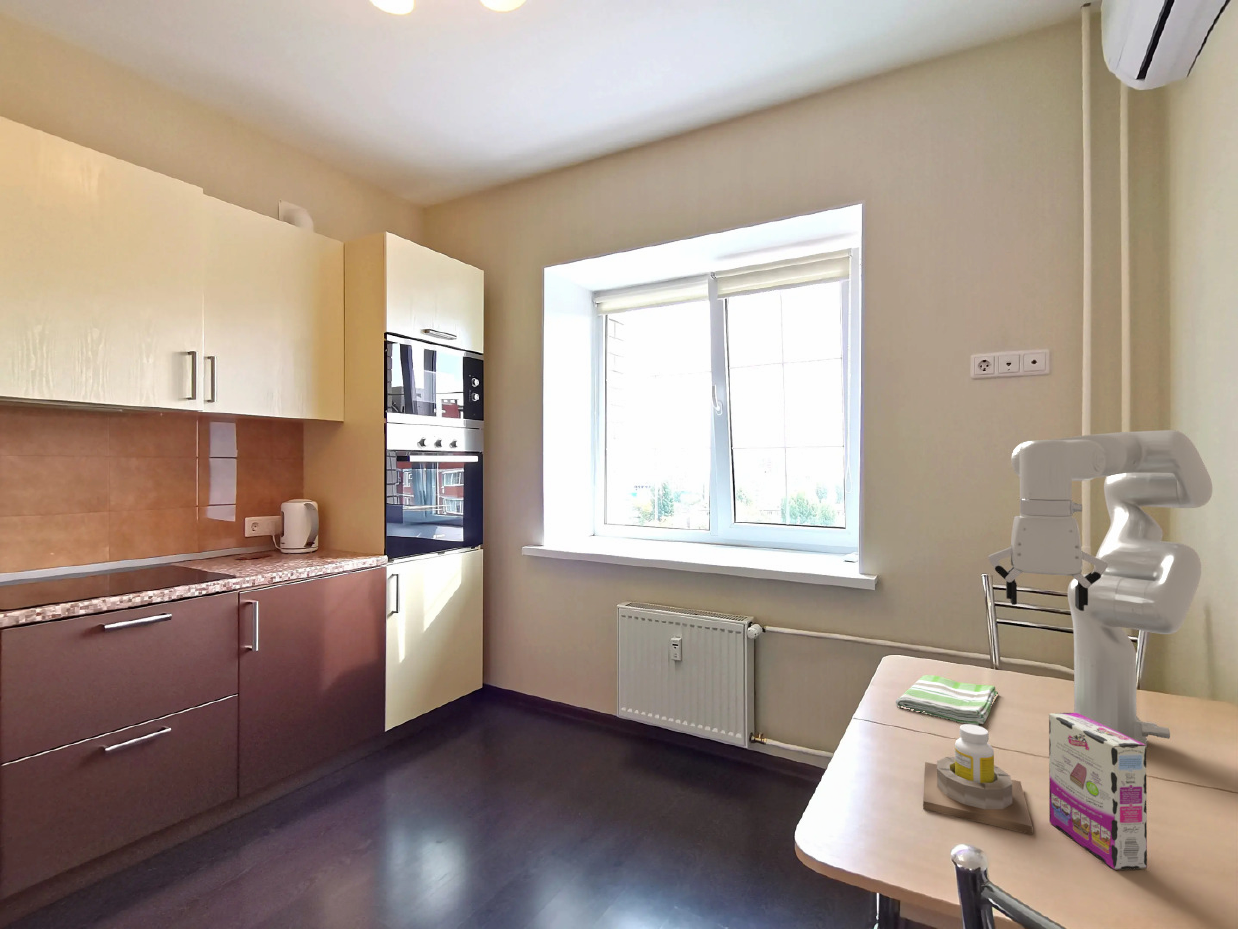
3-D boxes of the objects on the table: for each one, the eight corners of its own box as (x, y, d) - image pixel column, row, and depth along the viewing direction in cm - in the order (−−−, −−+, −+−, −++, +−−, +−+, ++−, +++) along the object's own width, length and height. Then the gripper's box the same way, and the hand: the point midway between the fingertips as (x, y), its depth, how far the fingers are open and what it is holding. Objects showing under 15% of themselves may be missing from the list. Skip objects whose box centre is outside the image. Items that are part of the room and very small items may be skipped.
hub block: (1020, 788, 99) (1020, 763, 99) (1032, 834, 86) (1032, 805, 86) (925, 768, 105) (925, 744, 105) (923, 808, 93) (923, 781, 93)
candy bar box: (1150, 870, 79) (1149, 745, 79) (1115, 872, 78) (1114, 746, 79) (1078, 820, 90) (1077, 710, 90) (1047, 822, 90) (1046, 711, 90)
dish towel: (893, 709, 133) (893, 693, 133) (919, 680, 150) (919, 666, 150) (983, 731, 122) (983, 713, 122) (1000, 697, 140) (999, 682, 140)
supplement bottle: (992, 786, 97) (992, 726, 97) (996, 803, 92) (996, 739, 92) (954, 778, 100) (954, 719, 100) (955, 794, 95) (955, 732, 95)
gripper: (1101, 509, 106) (1102, 607, 106) (986, 507, 114) (987, 597, 114) (1112, 512, 99) (1113, 616, 99) (989, 509, 107) (990, 605, 107)
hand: (1045, 606), depth 106 cm, fingers open, 9 cm apart
